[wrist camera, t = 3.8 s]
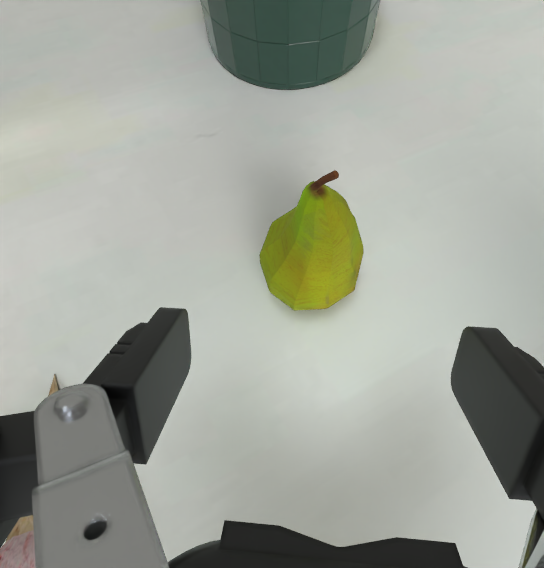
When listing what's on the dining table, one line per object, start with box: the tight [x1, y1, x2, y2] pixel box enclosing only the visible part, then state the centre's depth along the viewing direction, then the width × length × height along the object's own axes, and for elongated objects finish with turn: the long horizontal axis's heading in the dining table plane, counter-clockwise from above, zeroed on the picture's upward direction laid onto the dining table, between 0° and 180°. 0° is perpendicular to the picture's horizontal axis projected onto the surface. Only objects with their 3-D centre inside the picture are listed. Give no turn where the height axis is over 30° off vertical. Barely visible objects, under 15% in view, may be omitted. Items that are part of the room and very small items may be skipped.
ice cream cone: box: [0, 375, 58, 568], centre depth 19 cm, size 5×5×15 cm
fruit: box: [260, 171, 363, 310], centre depth 19 cm, size 6×6×12 cm
